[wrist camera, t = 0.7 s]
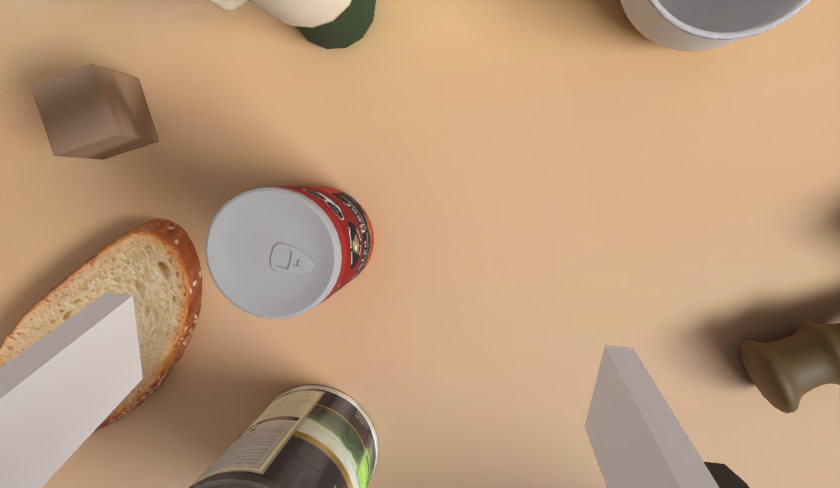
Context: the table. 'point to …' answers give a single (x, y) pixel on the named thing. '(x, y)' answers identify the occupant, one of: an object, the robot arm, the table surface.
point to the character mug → (317, 18)
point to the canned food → (287, 248)
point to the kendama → (794, 363)
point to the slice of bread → (152, 292)
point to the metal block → (94, 113)
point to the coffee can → (300, 445)
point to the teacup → (706, 20)
